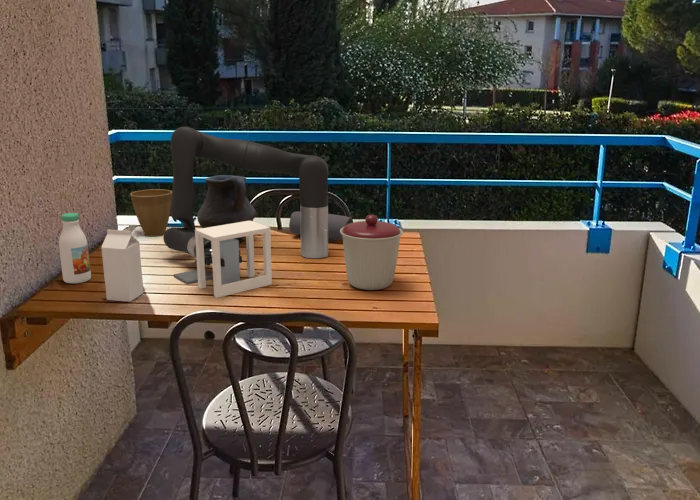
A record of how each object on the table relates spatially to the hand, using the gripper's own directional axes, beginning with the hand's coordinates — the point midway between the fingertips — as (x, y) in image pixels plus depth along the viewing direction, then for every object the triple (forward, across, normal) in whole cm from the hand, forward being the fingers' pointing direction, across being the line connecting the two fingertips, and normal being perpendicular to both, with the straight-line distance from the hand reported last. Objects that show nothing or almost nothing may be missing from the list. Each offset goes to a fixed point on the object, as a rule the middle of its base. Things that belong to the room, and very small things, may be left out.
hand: (232, 261), depth 183 cm
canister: (+25, +31, +7) cm, 41 cm away
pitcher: (-42, +23, +7) cm, 49 cm away
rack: (+1, 0, +7) cm, 7 cm away
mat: (-13, -6, +7) cm, 16 cm away
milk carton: (-9, -28, +7) cm, 31 cm away
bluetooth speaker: (-24, +51, +7) cm, 57 cm away
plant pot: (-69, +6, +7) cm, 70 cm away
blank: (-3, 0, +7) cm, 7 cm away
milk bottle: (-32, -34, +7) cm, 47 cm away
